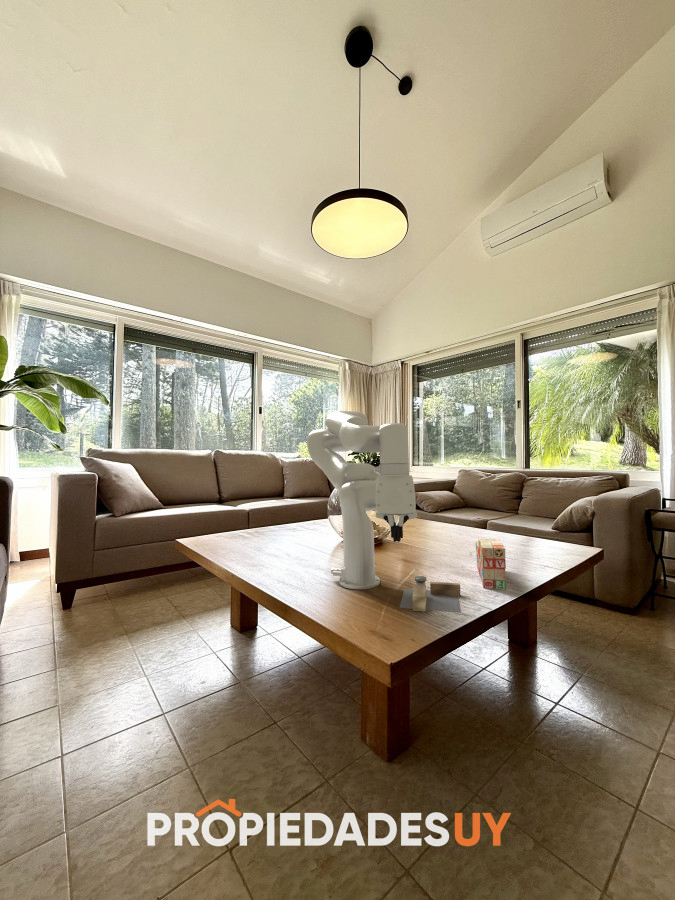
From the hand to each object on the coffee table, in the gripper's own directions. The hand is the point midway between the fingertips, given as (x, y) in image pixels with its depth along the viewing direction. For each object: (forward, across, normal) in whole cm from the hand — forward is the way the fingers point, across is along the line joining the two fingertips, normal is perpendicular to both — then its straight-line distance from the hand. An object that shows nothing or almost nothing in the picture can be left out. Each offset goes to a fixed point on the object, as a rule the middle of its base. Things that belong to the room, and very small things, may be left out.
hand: (397, 540), depth 98 cm
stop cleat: (+17, +12, +11) cm, 23 cm away
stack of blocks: (+17, +26, +28) cm, 42 cm away
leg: (+17, +5, +2) cm, 18 cm away
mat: (+17, +8, +6) cm, 20 cm away
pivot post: (+17, +5, +8) cm, 19 cm away
